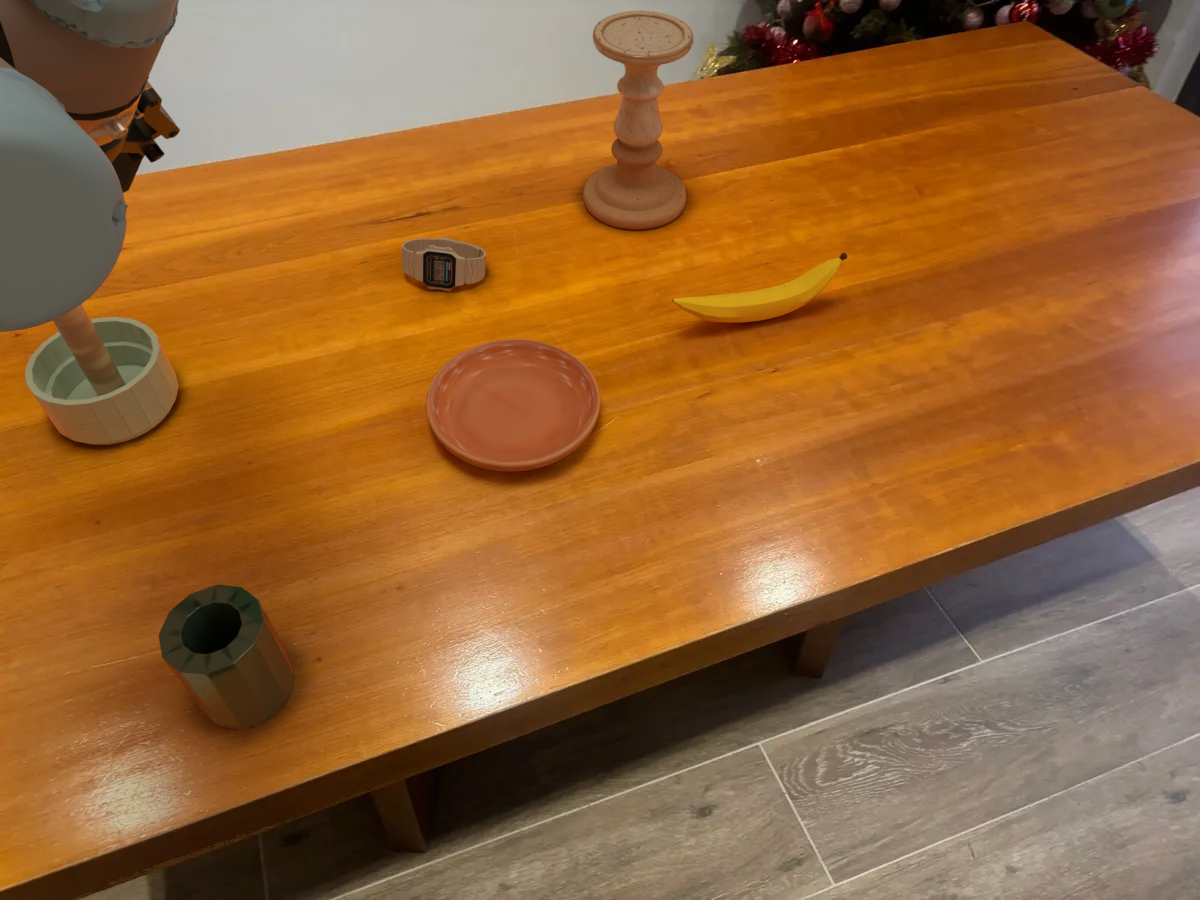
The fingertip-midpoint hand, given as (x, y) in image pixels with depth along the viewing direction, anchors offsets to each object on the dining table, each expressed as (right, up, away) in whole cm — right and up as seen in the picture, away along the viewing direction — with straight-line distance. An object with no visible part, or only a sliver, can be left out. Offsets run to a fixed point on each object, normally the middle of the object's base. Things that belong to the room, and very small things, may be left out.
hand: (30, 218), depth 66 cm
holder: (+16, -35, +1) cm, 38 cm away
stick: (-4, -12, +19) cm, 23 cm away
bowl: (-4, -13, +19) cm, 23 cm away
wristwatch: (+25, +2, +33) cm, 41 cm away
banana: (+58, -3, +29) cm, 65 cm away
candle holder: (+46, +13, +42) cm, 64 cm away
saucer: (+34, -14, +19) cm, 41 cm away
